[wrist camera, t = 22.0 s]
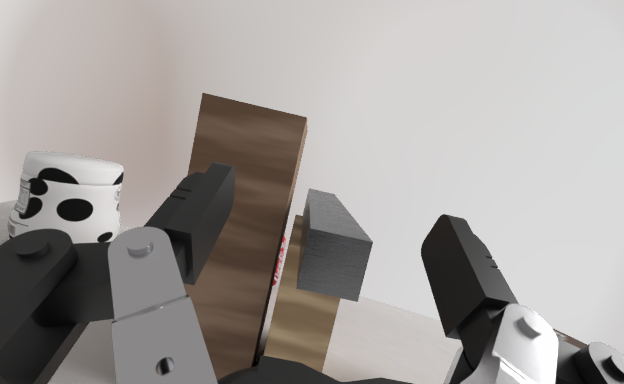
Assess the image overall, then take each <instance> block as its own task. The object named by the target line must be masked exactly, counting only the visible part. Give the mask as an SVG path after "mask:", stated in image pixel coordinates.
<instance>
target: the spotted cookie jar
mask: <svg viewBox="0 0 624 384" xmlns="http://www.w3.org/2000/svg"><path fill="white" fill-rule="evenodd" d="M122 180H123V166H122V165H121V164H118V163H115V162H111V161H107V160H102V159H97V158H92V157H86V156H80V155H73V154H65V153H55V152H39V151H33V152H27V154H26V157H25V161H24V164H23V172H22V174H21V181H20V193H19V197H18V200H17V203H16V205H15V207H14V208H13V210H12V212H11V214H10V217H9V221H8V231H9V236H10V239H11V238H13V237H15V236H17V235H20V234H22V233H25V232H29V231H32V230H38V229H58V230H62V231H64V232H66V233H67V234H69V236H70V237H71V239H72V242H73V244H75V243H98V242H111V241H113V240H114V239H115V238H116V236H117V234H118V231H119V228H120V213H119V207H118V206H119V197H120V192H121V187H122V184H121V183H122Z"/></svg>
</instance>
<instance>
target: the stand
mask: <svg viewBox="0 0 624 384" xmlns="http://www.w3.org/2000/svg"><path fill="white" fill-rule="evenodd" d="M306 135H307V118H306V117H302V116H298V115H294V114H289V113H286V112H281V111H277V110H272V109H269V108H264V107H260V106H256V105H252V104H248V103H243V102H239V101H235V100H231V99H227V98H222V97H218V96H214V95H210V94H205V93H203V94H202V100H201V105H200V111H199V116H198V122H197V127H196V133H195V138H194V143H193V149H192V154H191V160H190V165H189V171H188V176H189V175H191V174H193V173H195V172H200V173H205V172H206V171H207V170H208V168H209V167H210V166H211V164H212V163H213V162H218V163H222V164H227V165H231V166H235V187H234V201H233V206H232V210H231V212H230V215H229V217H228V219H227V221H226V223H225V225H224V227H223V229H222V231H221V233H220V235H219V237H218V239H217V241H216V243H215V245H214V247H213V249H212V251H211V253H210V255H209V257H208V259H207V261H206V263H205V265H204V267H203V269H202V271H201V273H200V275H199V277H198V279H197V281H196V283H195V285H190V284H185V283H184V284H183V285H184V288H185V291H186V294H187V295H189V296H190V298H191V300H192V303H193V306H194V309H195V313H196V316H197V319H198V322H199V325H200V329H201V332H202V335H203V338H204V341H205V345H206V348H207V351H208V354H209V357H210V360H211V364H212V367H213V370H214V373H215V376H216V380H219V379H220V378H222V377H224V376H226V375H228V374H230V373H233V372H235V371H238V370H241V369H245V368H250V367H253V366H254V363H255V359H256V355H257V351H258V348H259V344H260V339H261V335H262V331H263V326H264V322H265V317H266V313H267V308H268V304H269V299H270V295H271V290H272V286H273V282H274V277H275V273H276V268H277V264H278V259H279V255H280V250H281V246H282V242H283V237H284V233H285V228H286V224H287V219H288V215H289V210H290V205H291V202H292V197H293V193H294V188H295V184H296V179H297V175H298V170H299V166H300V161H301V157H302V153H303V148H304V144H305V139H306ZM302 221H303V216H300V215H296V216H295V220H294V224H293V229H292V233H291V237H290V241H289V245H288V250H287V254H286V259H285V263H284V268H283V272H282V276H281V281H280V285H279V289H278V294H277V298H276V303H275V307H274V311H273V316H272V320H271V325H270V329H269V333H268V338H267V342H266V347H265V351H264V356H269V357H274V358H280V359H285V360H290V361H296V362H301V363H303V364H305V365H307V366H309V367H311V368H313V369H315V370H317V371H319V372H321V373H322V369H323V365H324V361H325V357H326V353H327V349H328V345H329V341H330V337H331V333H332V329H333V325H334V321H335V317H336V314H337V310H338V306H339V302H340V298H338V297H333V296H328V295H324V294H319V293H314V292H310V291H305V290H300V289H296V286H297V275H298V264H299V254H300V243H301V232H302Z"/></svg>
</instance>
